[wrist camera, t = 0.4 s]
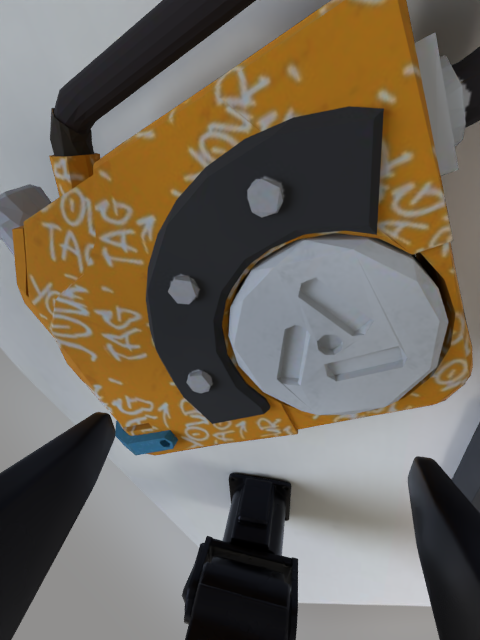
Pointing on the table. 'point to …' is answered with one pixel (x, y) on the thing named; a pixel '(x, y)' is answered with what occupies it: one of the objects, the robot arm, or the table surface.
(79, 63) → the table surface
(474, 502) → the panel
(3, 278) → the table surface
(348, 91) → the device
